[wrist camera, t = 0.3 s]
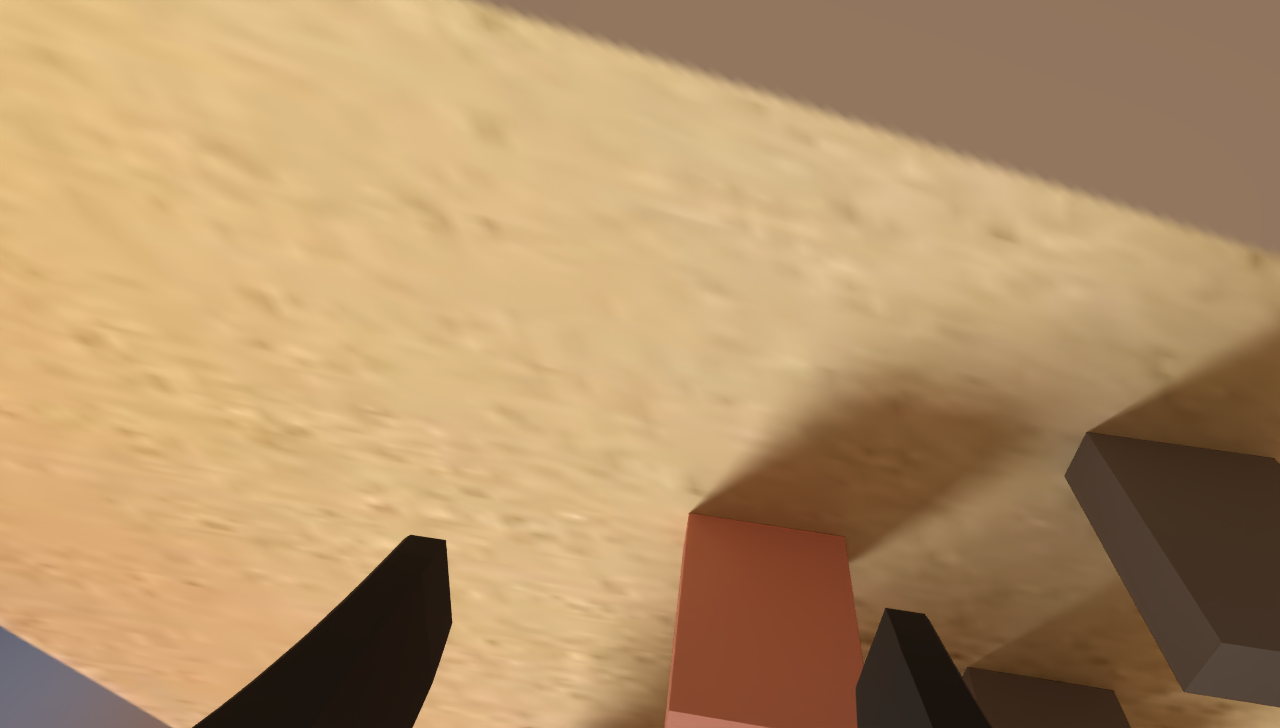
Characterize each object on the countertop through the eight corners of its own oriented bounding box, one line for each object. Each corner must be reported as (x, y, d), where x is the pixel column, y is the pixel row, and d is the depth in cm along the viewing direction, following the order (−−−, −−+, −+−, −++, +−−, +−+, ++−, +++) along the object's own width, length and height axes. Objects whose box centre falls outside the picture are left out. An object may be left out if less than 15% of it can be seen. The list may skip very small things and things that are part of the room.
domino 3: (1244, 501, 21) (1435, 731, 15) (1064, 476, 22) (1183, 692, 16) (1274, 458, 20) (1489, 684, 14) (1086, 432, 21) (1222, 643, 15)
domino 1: (833, 571, 25) (859, 782, 19) (683, 548, 25) (662, 747, 19) (844, 536, 24) (875, 745, 18) (689, 512, 24) (668, 710, 18)
